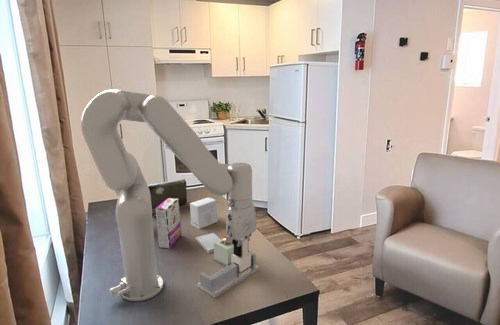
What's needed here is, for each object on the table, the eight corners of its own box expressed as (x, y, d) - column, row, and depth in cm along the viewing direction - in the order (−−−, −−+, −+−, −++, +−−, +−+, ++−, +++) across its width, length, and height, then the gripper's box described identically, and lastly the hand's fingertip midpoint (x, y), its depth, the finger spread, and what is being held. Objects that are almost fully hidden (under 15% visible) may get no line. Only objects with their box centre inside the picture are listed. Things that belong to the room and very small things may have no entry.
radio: (185, 201, 172) (184, 174, 168) (193, 206, 165) (192, 178, 161) (142, 212, 158) (139, 183, 154) (148, 218, 152) (145, 188, 148)
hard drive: (227, 245, 125) (213, 232, 135) (208, 250, 121) (195, 237, 131) (227, 248, 125) (214, 235, 135) (208, 254, 121) (195, 240, 131)
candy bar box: (170, 234, 135) (167, 197, 131) (181, 235, 134) (179, 198, 130) (157, 248, 125) (154, 208, 121) (170, 249, 124) (167, 209, 120)
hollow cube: (227, 267, 111) (227, 249, 110) (214, 260, 116) (213, 242, 114) (242, 259, 116) (241, 241, 115) (228, 252, 121) (228, 235, 119)
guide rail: (214, 297, 96) (214, 282, 95) (197, 286, 101) (196, 271, 100) (259, 269, 110) (259, 255, 109) (242, 260, 116) (241, 247, 114)
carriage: (240, 272, 106) (240, 243, 104) (231, 267, 109) (230, 238, 107) (251, 265, 110) (251, 237, 107) (241, 261, 113) (241, 233, 110)
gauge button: (227, 259, 113) (227, 241, 112) (220, 255, 116) (220, 238, 114) (235, 255, 116) (234, 238, 114) (228, 252, 118) (227, 234, 117)
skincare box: (209, 217, 152) (208, 196, 149) (218, 221, 147) (217, 200, 145) (190, 224, 145) (189, 202, 142) (199, 229, 140) (198, 206, 137)
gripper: (230, 212, 95) (231, 268, 100) (265, 197, 107) (265, 248, 112) (213, 205, 100) (215, 259, 105) (248, 192, 112) (249, 241, 117)
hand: (241, 253), depth 108 cm, fingers closed on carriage, 2 cm apart
